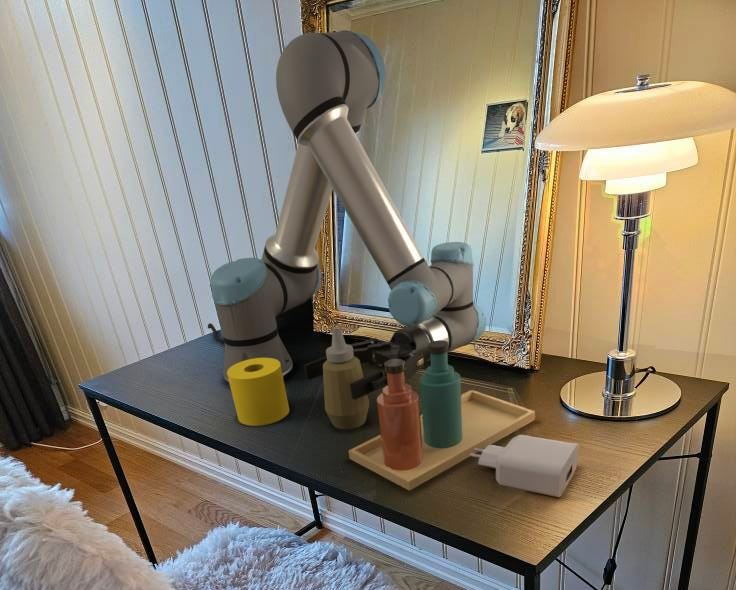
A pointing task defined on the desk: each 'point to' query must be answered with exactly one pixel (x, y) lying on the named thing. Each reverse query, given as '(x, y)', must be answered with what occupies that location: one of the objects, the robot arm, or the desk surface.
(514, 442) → the charger
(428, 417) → the teal bottle
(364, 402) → the squeeze bottle
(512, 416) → the tray
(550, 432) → the desk surface
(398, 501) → the desk surface
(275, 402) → the yellow toilet paper roll
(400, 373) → the terracotta bottle
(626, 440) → the desk surface
